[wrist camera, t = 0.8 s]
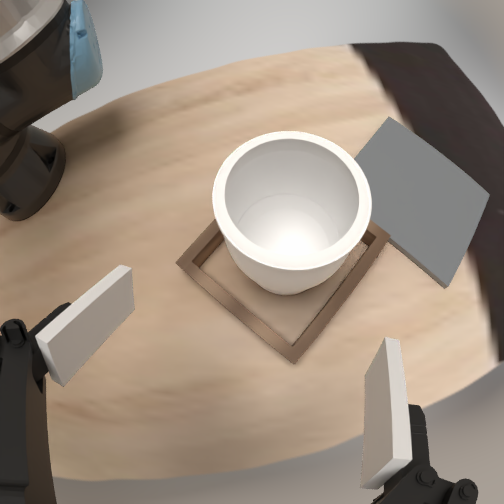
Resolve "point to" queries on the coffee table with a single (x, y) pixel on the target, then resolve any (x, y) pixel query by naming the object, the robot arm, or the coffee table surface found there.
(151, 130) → the coffee table surface
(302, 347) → the collar
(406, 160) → the board
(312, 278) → the jar
